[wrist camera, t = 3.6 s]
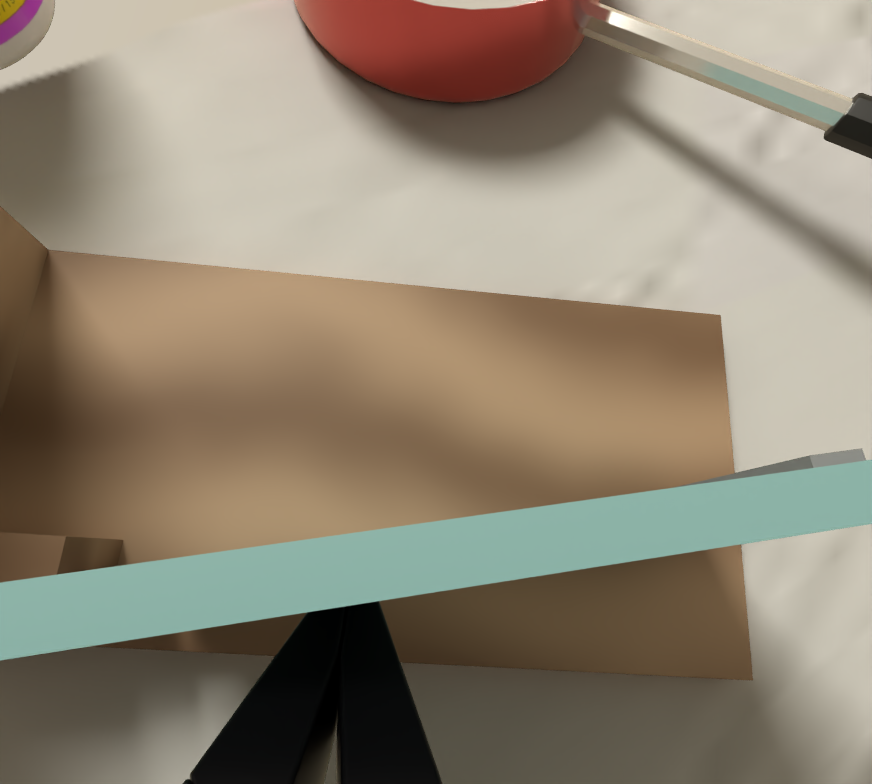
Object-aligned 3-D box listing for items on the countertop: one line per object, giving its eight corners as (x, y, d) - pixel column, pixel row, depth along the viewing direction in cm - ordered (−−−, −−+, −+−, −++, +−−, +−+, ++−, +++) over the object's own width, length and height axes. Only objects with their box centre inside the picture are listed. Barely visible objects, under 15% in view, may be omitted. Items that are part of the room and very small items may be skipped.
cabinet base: (732, 673, 17) (1410, 903, 6) (-83, 631, 16) (-1325, 832, 4) (704, 326, 21) (1105, 40, 9) (28, 261, 19) (-511, -183, 8)
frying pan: (1023, 157, 25) (1234, 25, 18) (955, 405, 21) (1191, 343, 15) (391, -162, 27) (393, -375, 20) (225, 13, 23) (168, -184, 17)
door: (687, 534, 17) (1080, 507, 8) (122, 620, 15) (-341, 735, 6) (677, 491, 18) (1040, 413, 8) (122, 570, 16) (-314, 597, 6)
